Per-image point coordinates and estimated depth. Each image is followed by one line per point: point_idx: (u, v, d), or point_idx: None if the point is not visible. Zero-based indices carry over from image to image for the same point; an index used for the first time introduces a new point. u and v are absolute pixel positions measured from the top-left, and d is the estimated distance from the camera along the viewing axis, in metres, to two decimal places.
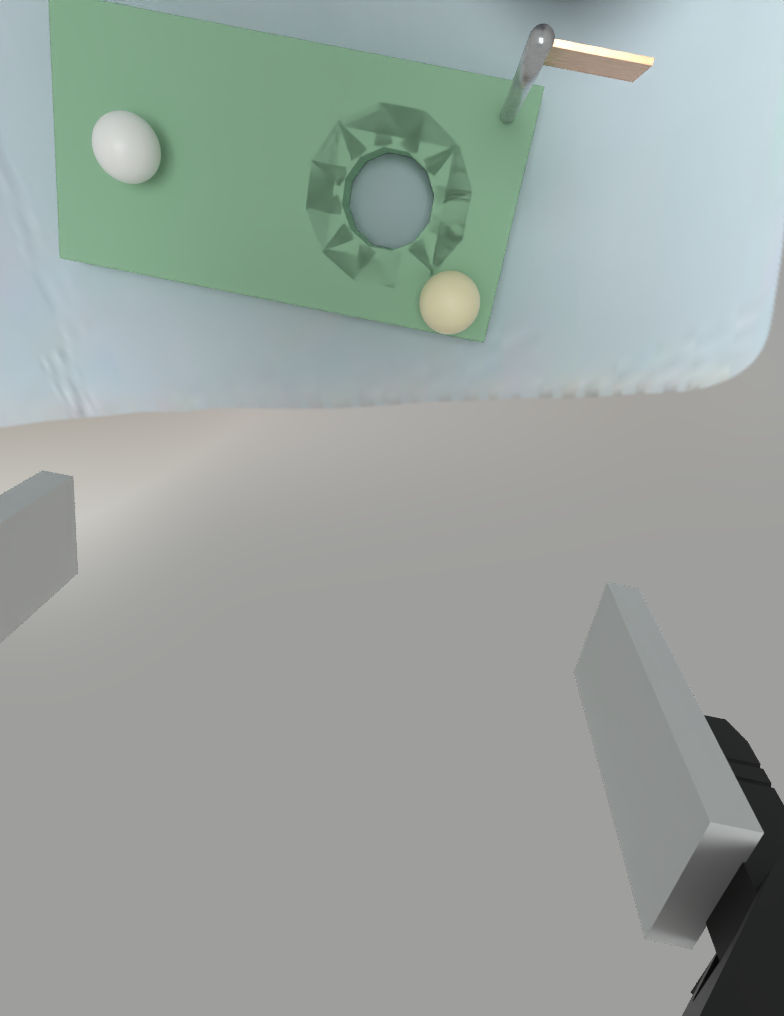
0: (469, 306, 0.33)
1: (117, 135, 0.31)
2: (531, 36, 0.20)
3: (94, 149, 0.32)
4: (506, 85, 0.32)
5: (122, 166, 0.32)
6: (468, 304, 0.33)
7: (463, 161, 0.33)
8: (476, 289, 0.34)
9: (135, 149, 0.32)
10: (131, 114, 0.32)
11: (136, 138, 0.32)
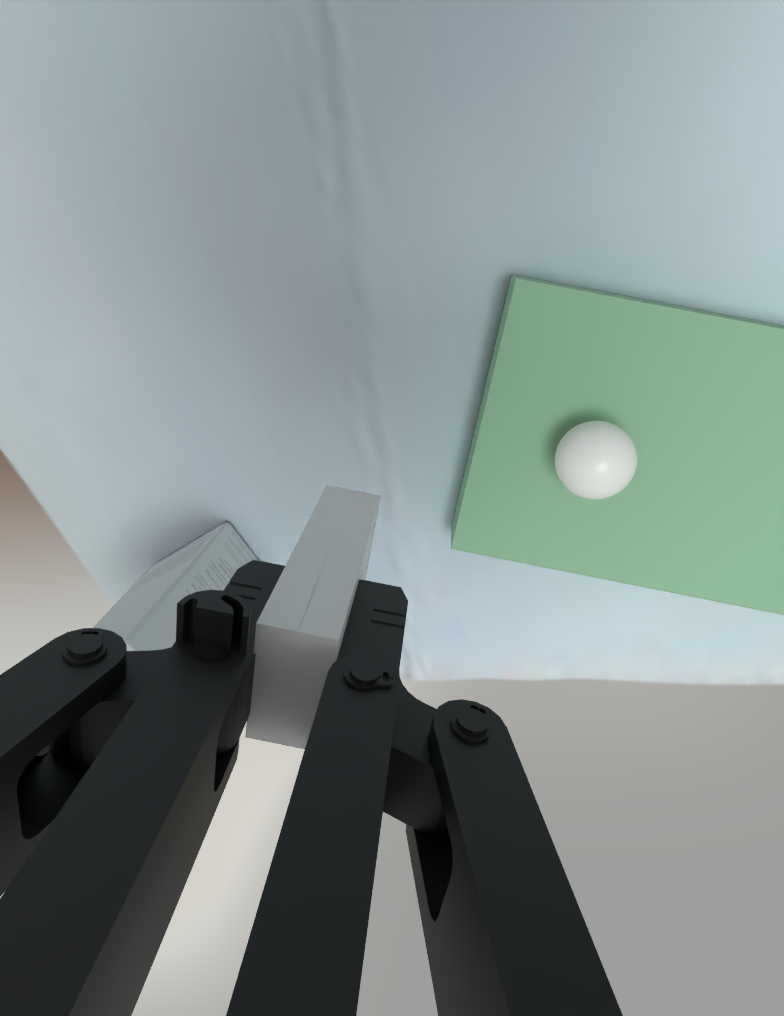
0: None
1: (614, 465, 0.25)
2: None
3: (571, 473, 0.26)
4: None
5: (605, 493, 0.26)
6: None
7: None
8: None
9: (627, 476, 0.26)
10: (620, 431, 0.26)
11: (630, 464, 0.26)
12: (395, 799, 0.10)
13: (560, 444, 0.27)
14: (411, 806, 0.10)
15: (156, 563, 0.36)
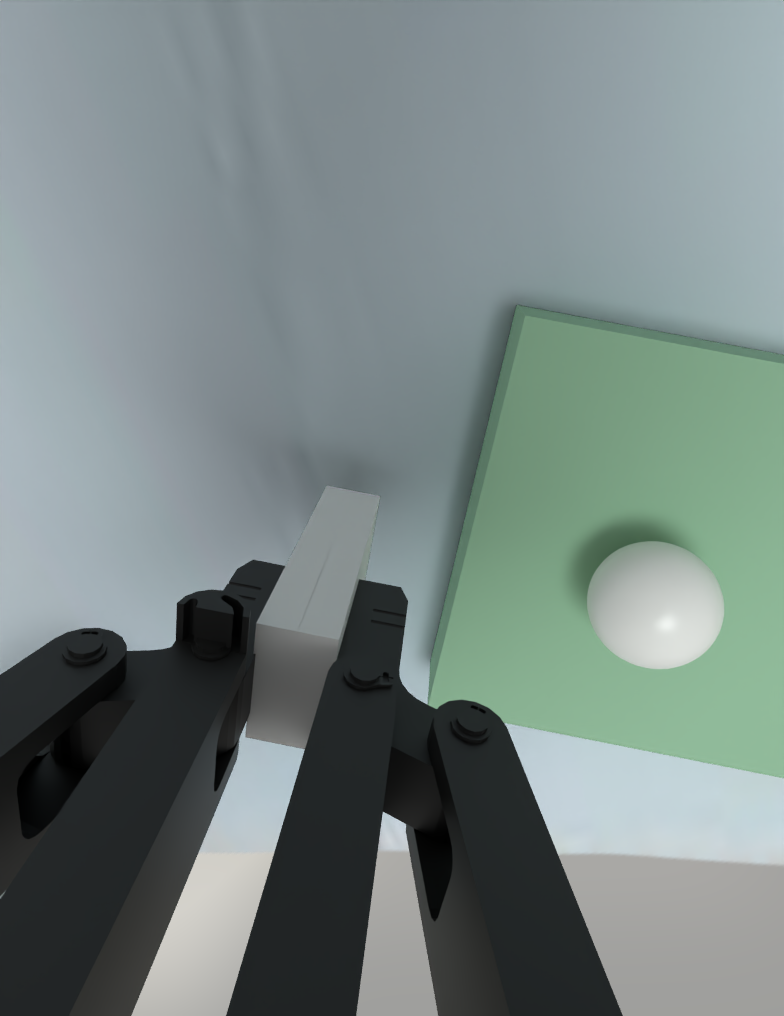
0: None
1: (691, 628, 0.15)
2: None
3: (616, 633, 0.16)
4: None
5: (672, 666, 0.16)
6: None
7: None
8: None
9: (710, 641, 0.16)
10: (697, 566, 0.16)
11: (717, 622, 0.15)
12: (395, 799, 0.10)
13: (597, 580, 0.17)
14: (411, 806, 0.10)
15: None
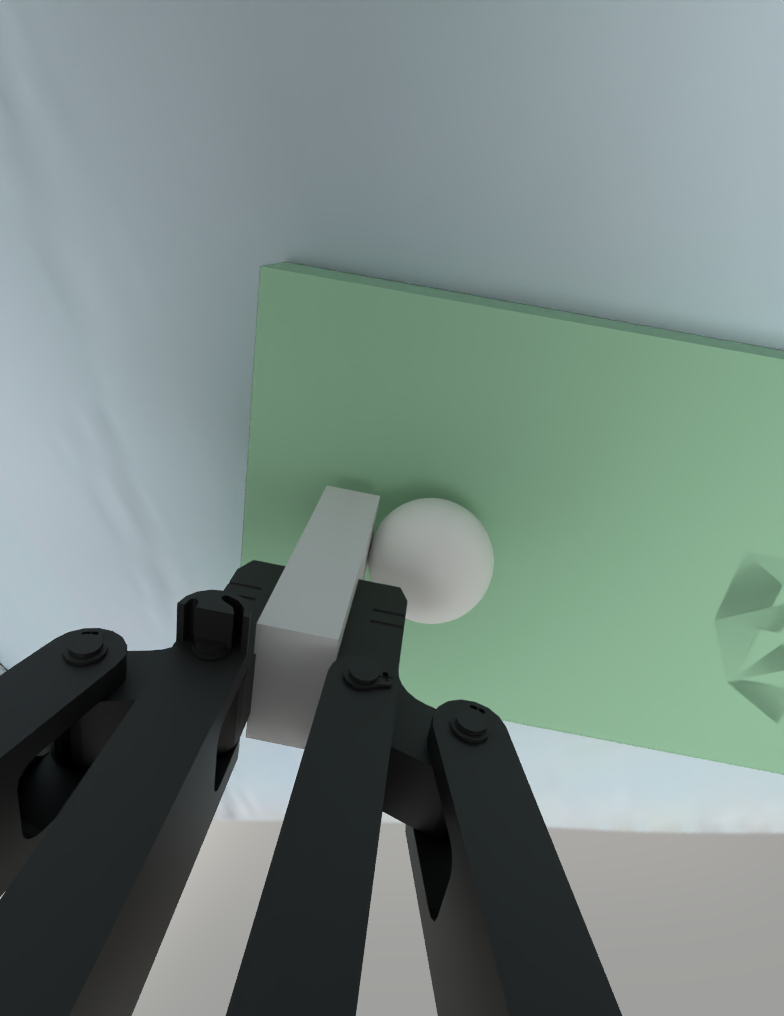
0: None
1: (467, 579, 0.15)
2: None
3: None
4: None
5: (456, 617, 0.16)
6: None
7: None
8: None
9: (485, 587, 0.16)
10: (464, 518, 0.16)
11: (489, 567, 0.16)
12: (394, 798, 0.10)
13: (375, 548, 0.16)
14: (410, 806, 0.10)
15: None
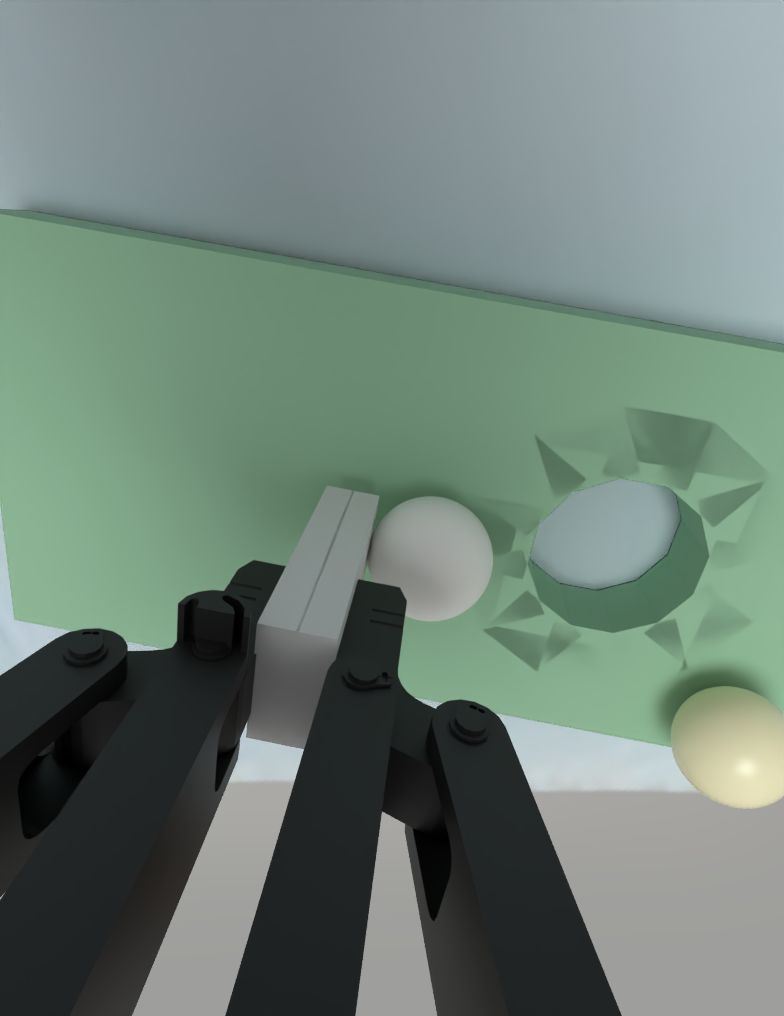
0: None
1: None
2: None
3: None
4: None
5: None
6: None
7: (778, 505, 0.17)
8: None
9: (369, 554, 0.17)
10: (417, 505, 0.16)
11: (375, 538, 0.16)
12: (393, 798, 0.10)
13: None
14: (410, 806, 0.10)
15: None
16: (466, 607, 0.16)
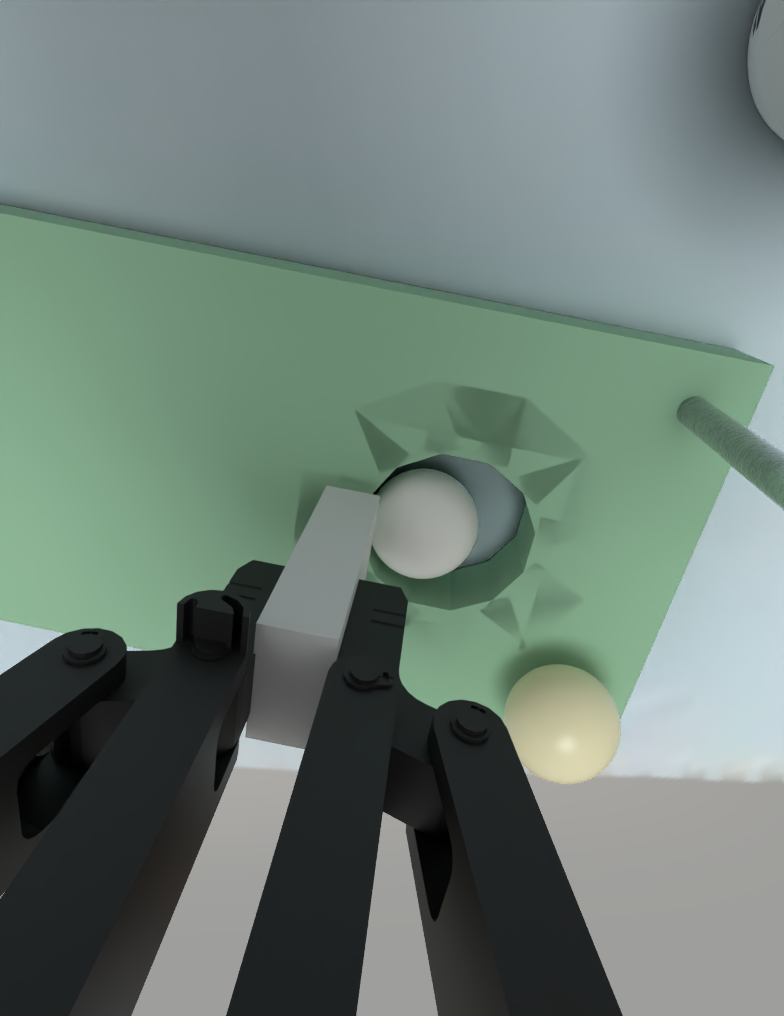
0: (606, 760, 0.17)
1: (477, 524, 0.19)
2: None
3: (440, 562, 0.18)
4: (695, 361, 0.16)
5: None
6: (606, 758, 0.17)
7: (596, 483, 0.17)
8: (617, 716, 0.18)
9: None
10: (451, 477, 0.19)
11: None
12: (395, 798, 0.10)
13: (401, 531, 0.18)
14: (411, 806, 0.10)
15: None
16: None
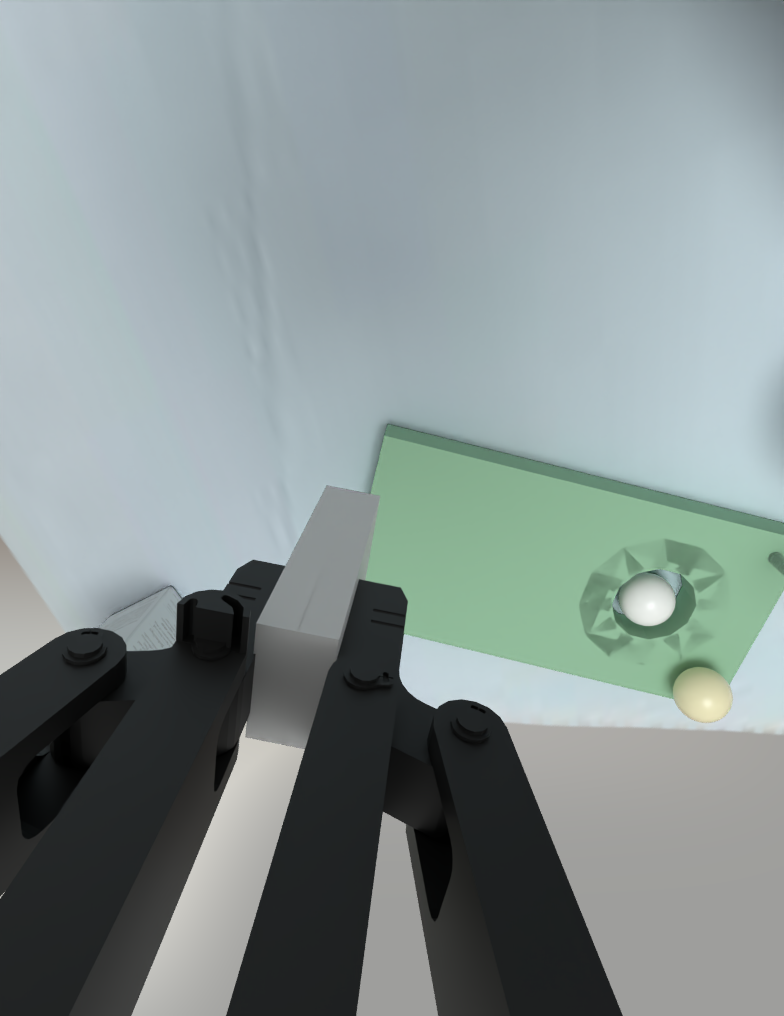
0: (728, 711, 0.38)
1: None
2: None
3: (667, 618, 0.39)
4: (778, 538, 0.37)
5: None
6: (728, 710, 0.38)
7: (728, 585, 0.38)
8: (731, 691, 0.39)
9: None
10: (661, 577, 0.40)
11: None
12: (395, 798, 0.10)
13: (655, 608, 0.38)
14: (411, 806, 0.10)
15: (112, 615, 0.45)
16: (618, 597, 0.41)
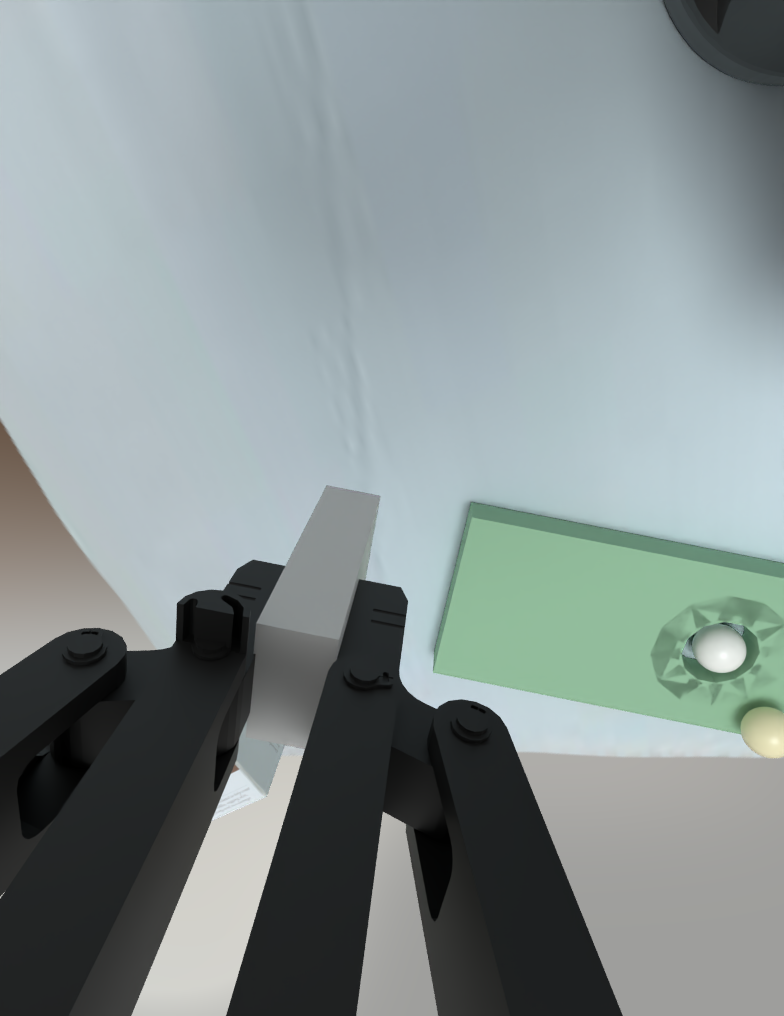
0: None
1: None
2: None
3: (741, 664, 0.43)
4: None
5: None
6: None
7: None
8: None
9: None
10: None
11: None
12: (395, 799, 0.10)
13: (734, 659, 0.42)
14: (411, 807, 0.10)
15: None
16: (692, 649, 0.44)
